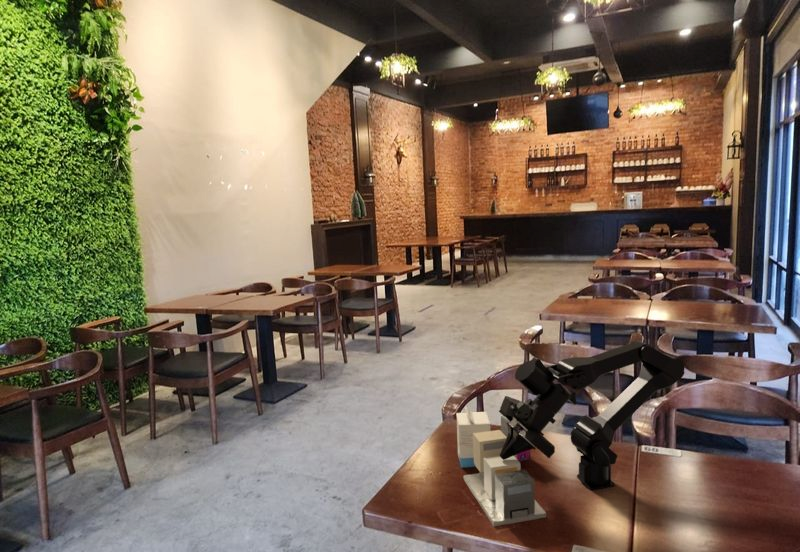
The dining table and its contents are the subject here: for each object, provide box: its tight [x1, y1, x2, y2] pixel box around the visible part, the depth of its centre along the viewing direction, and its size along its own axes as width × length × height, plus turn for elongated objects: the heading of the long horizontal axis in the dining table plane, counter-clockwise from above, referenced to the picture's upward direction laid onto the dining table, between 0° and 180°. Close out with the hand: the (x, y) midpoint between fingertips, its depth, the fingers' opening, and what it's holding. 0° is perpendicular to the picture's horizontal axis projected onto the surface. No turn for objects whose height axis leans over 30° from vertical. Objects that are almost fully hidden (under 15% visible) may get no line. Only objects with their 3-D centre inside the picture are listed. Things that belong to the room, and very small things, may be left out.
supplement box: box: [500, 414, 532, 463], centre depth 139 cm, size 6×6×12 cm
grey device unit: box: [463, 469, 547, 527], centre depth 120 cm, size 12×20×9 cm, turn 11°
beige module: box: [473, 429, 507, 473], centre depth 126 cm, size 7×5×8 cm
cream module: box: [484, 456, 522, 500], centre depth 120 cm, size 7×5×8 cm
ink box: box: [455, 406, 492, 469], centre depth 139 cm, size 9×8×13 cm
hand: (501, 457), depth 119 cm, fingers closed
